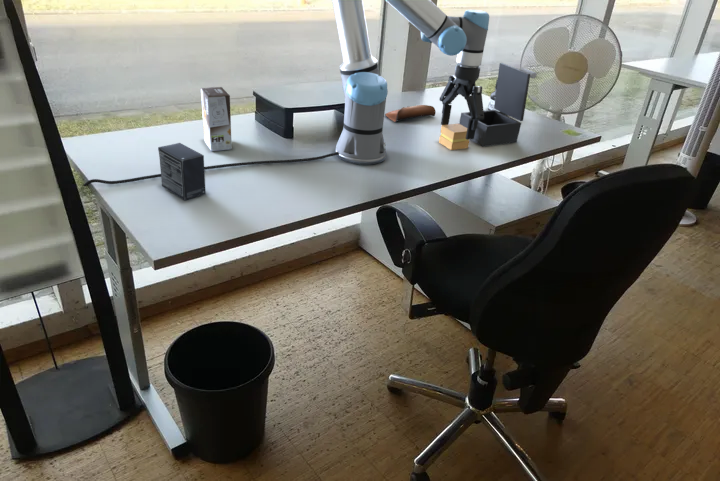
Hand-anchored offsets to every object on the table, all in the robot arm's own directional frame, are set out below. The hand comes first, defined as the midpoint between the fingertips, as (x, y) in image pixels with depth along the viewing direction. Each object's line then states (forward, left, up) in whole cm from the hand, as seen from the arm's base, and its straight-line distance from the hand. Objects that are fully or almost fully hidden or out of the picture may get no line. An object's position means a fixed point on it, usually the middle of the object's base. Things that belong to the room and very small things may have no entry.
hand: (456, 131), depth 179 cm
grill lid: (+22, +7, +11) cm, 25 cm away
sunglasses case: (-4, +28, -5) cm, 29 cm away
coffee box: (-75, +7, -5) cm, 76 cm away
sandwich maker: (+16, +6, -5) cm, 18 cm away
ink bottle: (+36, +32, -5) cm, 48 cm away
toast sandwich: (0, 0, -5) cm, 5 cm away
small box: (-86, -22, -5) cm, 89 cm away
